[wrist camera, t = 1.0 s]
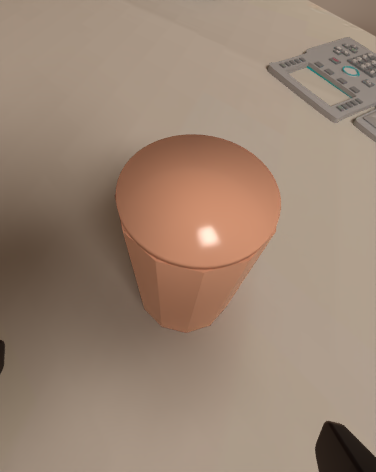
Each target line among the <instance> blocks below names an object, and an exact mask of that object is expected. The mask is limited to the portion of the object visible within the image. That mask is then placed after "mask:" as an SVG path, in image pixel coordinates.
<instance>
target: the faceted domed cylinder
mask: <svg viewBox="0 0 376 472" xmlns="http://www.w3.org/2000/svg"><path fill="white" fill-rule="evenodd" d="M115 199H116V204H117V209H118V212H119V217H120V221H121V226H122V230H123V234H124V238H125V241H126V245H127V249H128V252H129V256H130V259H131V263H132V267H133V270H134V274H135V277H136V281H137V284H138V288H139V292H140V295H141V299H142V302H143V306H144V309H145V310H146V311H147V312H148V313H149V314H150V315H151V316H152V317H153V318H154V319H155V320H156V321H157V322H158V323H159V324H160V325H161V326H162V327H165V328H169V329H173V330H177V331H181V332H185V333H187V332H191V331H194V330H197V329H200V328H203V327H207V326H210V325H211V324H212V323H213V322H214V320H215V319H216V318H217V317H218V316H219V315H220V313H221V312H222V311H223V310H224V309H225V308H226V306H227V305H228V303H229V302H230V300H231V299H232V297H233V296H234V294H235V293H236V291H237V289H238V288H239V286H240V285H241V283H242V282H243V280H244V279H245V277H246V276H247V274H248V273H249V271H250V270H251V268H252V267H253V265H254V264H255V262H256V261H257V259H258V258H259V256H260V255H261V253H262V252H263V250H264V249H265V247H266V246H267V244H268V243H269V241H270V240H271V238H272V237H273V235H274V234H275V232H276V225H277V222H278V219H279V216H280V210H281V198H280V192H279V189H278V186H277V183H276V181H275V179H274V177H273V175H272V174H271V172H270V171H269V169H268V168H267V167H266V166H265V165H264V163H263V162H262V161H261V160H259V159H258V158H257V157H256V156H255V155H254V154H252V153H251V152H249V151H248V150H246V149H245V148H243V147H241V146H239V145H237V144H235V143H233V142H230V141H227V140H224V139H221V138H217V137H213V136H206V135H178V136H172V137H168V138H164V139H161V140H158V141H156V142H154V143H151V144H149V145H148V146H146V147H144V148H142V149H141V150H140V151H138V152H137V153H136V154H135V155H134V156H133V157H132V158H130V160H129V161H128V162H127V163H126V165H125V166H124V168H123V169H122V171H121V173H120V176H119V178H118V181H117V186H116V194H115Z"/></svg>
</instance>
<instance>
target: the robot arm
mask: <svg viewBox="0 0 376 472" xmlns="http://www.w3.org/2000/svg"><path fill="white" fill-rule="evenodd" d="M4 354H5V343H4V341H2V340H0V373H1V372H2V370H3V367H4ZM315 454H316V459H317V464H318V469H319V472H376V457H375V456H374V455H373V454H372V453H371V452H370V451H369V450H368V449H367V448H366V447H365V446H364V445H363V444H362V443H361V442H360V441H359V440H358V439H357V438H356V437H355V436H354V435H353V434H352V433H351V432H350V431H349V430H348V429H347V428H346V427H345V426H344V425H342V424H340V423H336V422H331V421H326V422H325V423H324V425H323V427H322V430H321V432H320V435H319V437H318V440H317V442H316V447H315Z"/></svg>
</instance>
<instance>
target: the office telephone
mask: <svg viewBox="0 0 376 472" xmlns="http://www.w3.org/2000/svg"><path fill="white" fill-rule="evenodd" d="M306 67H307V68H308V69H310V70H311V71H313V72H314V73H316V74H317V75H319V76H320V77H322V78H323V79H325V80H326V81H327V82H329V83H330V84H332V85H333V86H335V87H336V88H337V89H339V90H340V91H342V92H343V93H345V94H346V95H347V96H349V97H350V98H351V99H349V100H346V101H344V102H341V103H339V104H336V105H333V106H330V105H328V104H327V103H326V102H324V101H323V100H322V99H320V98H319V97H317V96H316V95H315V94H314V93H312V92H311V91H310V90H308V89H307V88H306V87H304V86H303V85H302V84H300V83H299V82H298V81H297V80H295V79H294V78H293V77H292V76H290V75H289V74H288V73H291V72H294V71H297V70H300V69H303V68H306ZM267 71H268V72H269V73H270V74H272V75H273V76H274V77H275V78H277V79H278V80H279V81H280V82H281V83H283V84H284V85H285V86H286V87H288V88H289V89H290V90H291V91H293V92H294V93H295V94H296V95H298V96H299V97H300V98H302V99H303V100H304V101H305V102H307V103H308V104H309V105H310V106H312V107H313V108H314V109H316V110H317V111H318V112H319V113H321V114H322V115H324V116H325V117H326V118H328V119H329V120H330V121H332V122H334V123H338V122H339V121H341V120H342V119H345V118H347V117H349V116H352V115H354V114H356V113H359V112H361V111H363V110H366V109H368V108H371V107H373V106H375V107H376V54H375V53H373V52H372V51H370V50H369V49H367V48H366V47H364V46H363V45H361V44H360V43H358V42H356V41H355V40H353V39H351V38H350V37H346V38H342V39H339V40H336V41H332V42H329V43H326V44H322V45H319V46H316V47H312V48H310V49H307V50H306V52H305V54H302V55H299V56H296V57H293V58H290V59H286V60H283V61H279V62H275V63H272V62H271V63H269V66H268V69H267ZM353 125H354V126H355V127H357V128H358V129H359V130H360V131H362V132H363V133H364V134H365V135H367V136H368V137H369V138H371V139H372V140H373V141H375V142H376V109H375V110H373V111H370V112H368V113H366V114H364V115H362V116H360V117H357V118H356V119H355V121H354V122H353Z"/></svg>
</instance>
